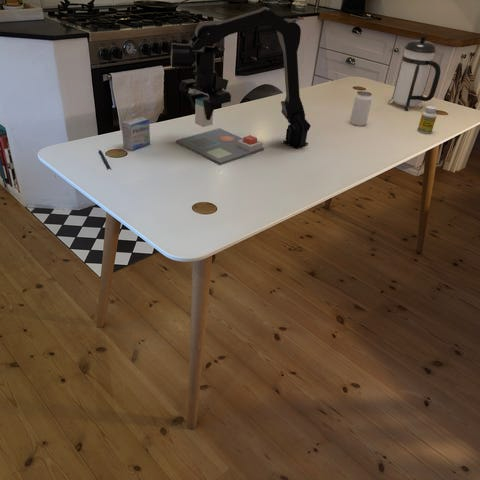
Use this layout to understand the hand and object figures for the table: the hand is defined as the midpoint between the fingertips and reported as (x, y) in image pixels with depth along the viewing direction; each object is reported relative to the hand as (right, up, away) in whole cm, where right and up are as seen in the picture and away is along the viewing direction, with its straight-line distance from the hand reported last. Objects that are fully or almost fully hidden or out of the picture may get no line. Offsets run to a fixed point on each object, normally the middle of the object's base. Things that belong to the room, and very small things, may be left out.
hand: (203, 118), depth 150 cm
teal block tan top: (0, -2, +1) cm, 2 cm away
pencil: (-30, -15, -9) cm, 35 cm away
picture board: (+5, -8, +5) cm, 11 cm away
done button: (+15, -7, +4) cm, 17 cm away
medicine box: (-22, -9, +1) cm, 24 cm away
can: (+59, +7, +34) cm, 68 cm away
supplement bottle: (+84, +3, +32) cm, 90 cm away
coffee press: (+87, +20, +58) cm, 106 cm away
